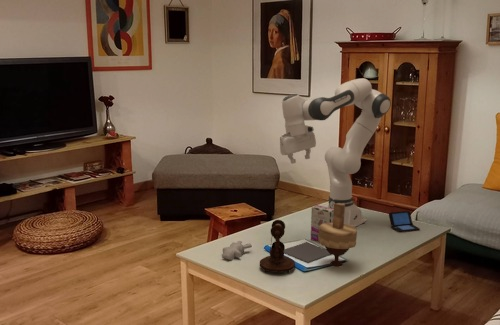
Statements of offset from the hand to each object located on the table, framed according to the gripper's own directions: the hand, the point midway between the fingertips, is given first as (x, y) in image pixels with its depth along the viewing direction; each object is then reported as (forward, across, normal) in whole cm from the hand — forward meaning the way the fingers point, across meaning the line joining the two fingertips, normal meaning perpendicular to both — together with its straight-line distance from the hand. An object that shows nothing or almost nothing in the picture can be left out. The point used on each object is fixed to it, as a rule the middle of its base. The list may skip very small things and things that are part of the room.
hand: (300, 161), depth 247 cm
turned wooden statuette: (+39, -31, -8) cm, 51 cm away
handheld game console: (+46, +52, -14) cm, 71 cm away
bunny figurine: (+35, -35, +14) cm, 51 cm away
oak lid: (+33, -9, -23) cm, 41 cm away
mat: (+40, -9, -4) cm, 41 cm away
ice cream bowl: (+43, -10, -21) cm, 49 cm away
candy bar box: (+40, +7, +1) cm, 41 cm away
